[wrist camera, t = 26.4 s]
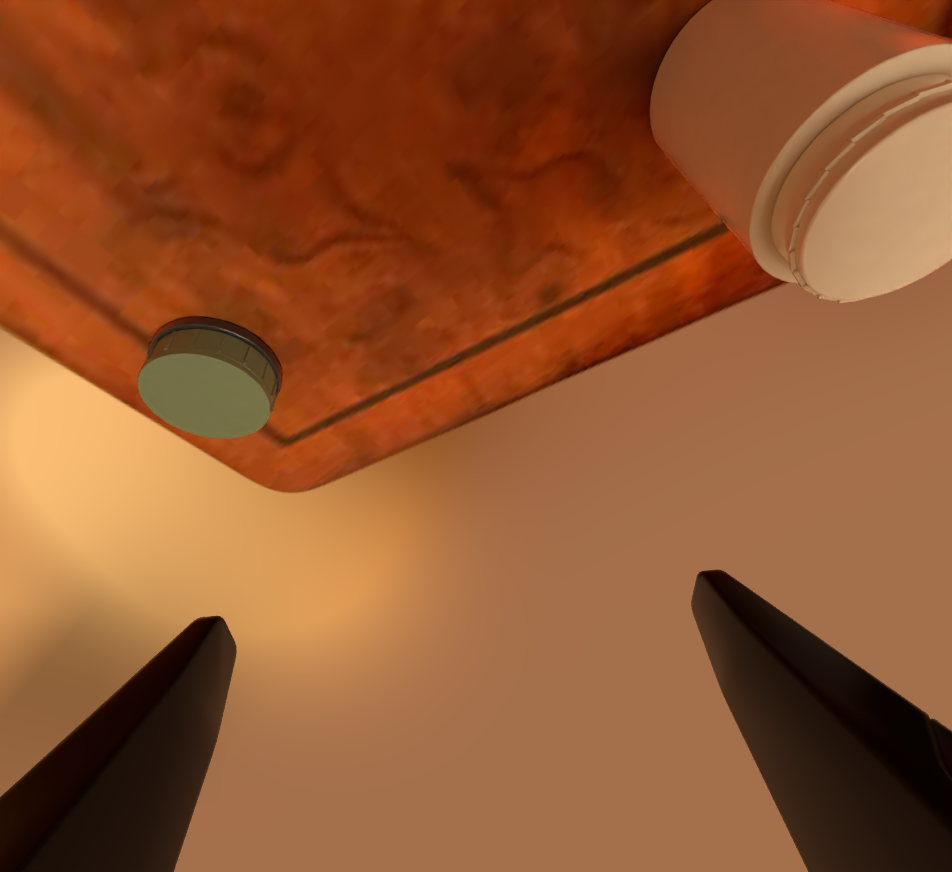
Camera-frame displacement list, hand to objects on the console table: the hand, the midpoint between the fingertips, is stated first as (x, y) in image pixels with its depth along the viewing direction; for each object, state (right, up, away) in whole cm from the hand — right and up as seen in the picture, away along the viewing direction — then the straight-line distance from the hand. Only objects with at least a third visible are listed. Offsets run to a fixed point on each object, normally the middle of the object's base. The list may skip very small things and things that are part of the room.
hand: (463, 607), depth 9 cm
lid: (-13, +5, +15) cm, 20 cm away
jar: (+9, +16, +8) cm, 20 cm away
